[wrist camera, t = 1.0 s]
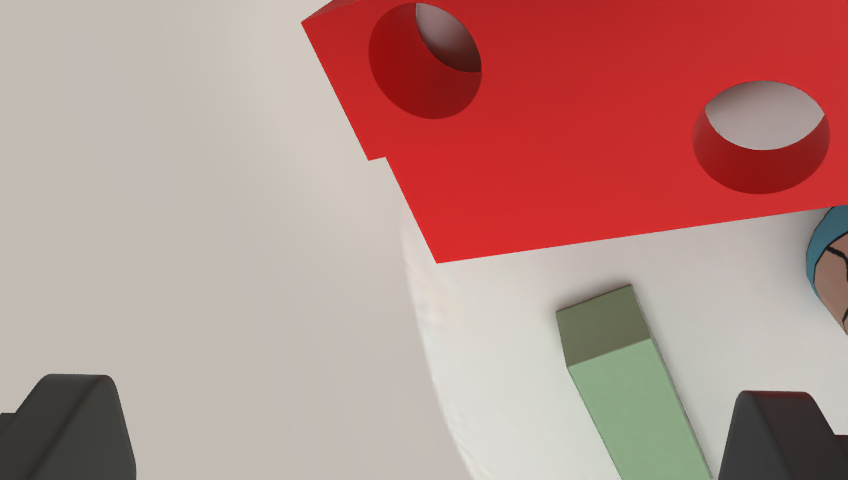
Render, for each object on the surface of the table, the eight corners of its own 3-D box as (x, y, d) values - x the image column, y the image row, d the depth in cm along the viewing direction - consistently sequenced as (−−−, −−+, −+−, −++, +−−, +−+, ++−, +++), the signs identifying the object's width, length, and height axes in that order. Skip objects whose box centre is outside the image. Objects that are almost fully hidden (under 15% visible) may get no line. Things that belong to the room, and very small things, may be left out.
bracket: (1024, 200, 20) (968, 51, 27) (982, -235, 16) (930, -270, 23) (426, 278, 29) (507, 152, 37) (300, 22, 25) (421, -62, 33)
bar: (555, 312, 35) (566, 367, 31) (631, 283, 34) (651, 337, 30) (655, 519, 40) (673, 585, 37) (722, 499, 40) (747, 565, 36)
